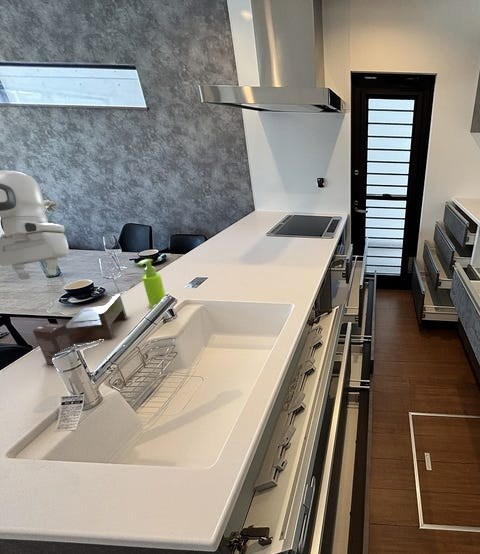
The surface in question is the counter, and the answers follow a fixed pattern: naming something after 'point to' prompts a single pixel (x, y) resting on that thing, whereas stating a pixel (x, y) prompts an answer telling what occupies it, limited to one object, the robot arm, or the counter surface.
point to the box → (52, 339)
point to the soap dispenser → (152, 283)
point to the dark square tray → (96, 321)
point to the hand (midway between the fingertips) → (37, 277)
